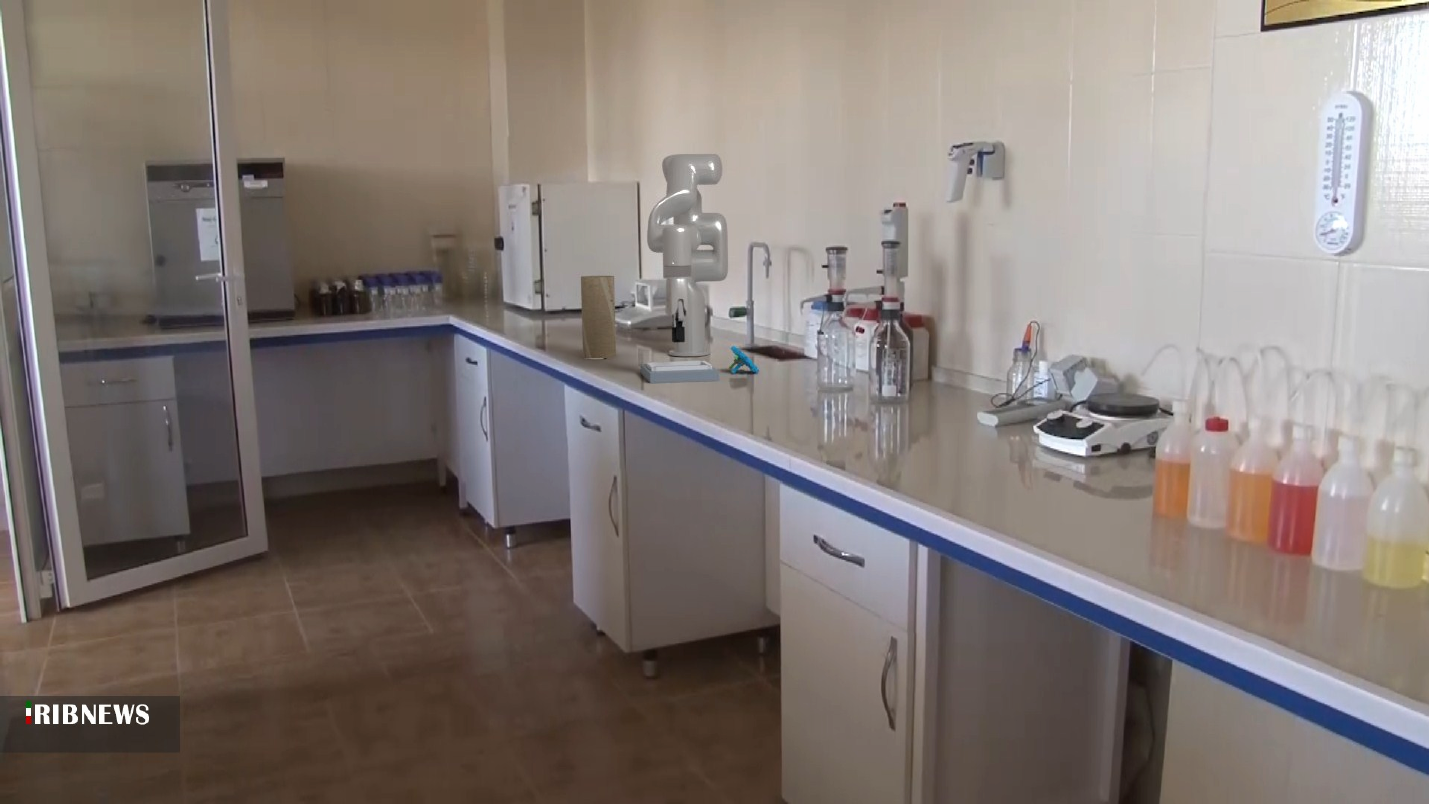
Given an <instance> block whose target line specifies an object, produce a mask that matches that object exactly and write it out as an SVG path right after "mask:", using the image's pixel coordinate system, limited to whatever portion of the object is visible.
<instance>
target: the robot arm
mask: <svg viewBox="0 0 1429 804" xmlns="http://www.w3.org/2000/svg"><path fill="white" fill-rule="evenodd" d="M661 166H662V172H663V176H664V178H665V181H666V194H665V196H664V197H663V198H662V199H660V201H658V202H657V203H656V204H655V205H654V206H653V208H652V210H651V211H650V214H649V216H648V221H647V231H646V233H647V234H646V243H647V246H648V248H649V250H650V251H651V252H653V253H656V254H657V253H659V254H661V253H662V273H663V274H662V277H663V279H664V280H665V279H666V280H665V281H666V283H665V308H664V309H665V310H664V311H665V314H666V315H667V316H669V317H671V341H672V343H673V349H670V350H669V351H668V355H669V356H673V357H702V356H703V357H704V356H709V355H710V354H711V350H710V349H706V303H705V302H706V300H705V299H706V298H705V294H704V292H703V291H702V289H700V287H699V286H698V285H697V283H698V282H722V281H725V280H726V279H727V276H728V272H729V250H728V249H729V248H728V247H729V243H728V241H729V239H728V235H729V234H728V224H727V220H726V218H725V216H724V215H723V214H722V213H719V212H703V201H702V199H703V198H702V194H701V193H700V191H699V189H698V186H700V185H701V186H705V185H706V186H708V185H709V186H710V185H713V186H715V185H717V184H719V182H720V181H721V179H722V175H723V163H722V159H721V157H720V156H719V155H718V154H716V153H681V154H680V153H679V154H670V155H667V156H666V157H664V159H663V160H662V164H661ZM671 218H673V224H663V223H664V222H666V221H667V220H669V219H671ZM700 246H711V247H712V249H699V247H700Z"/></svg>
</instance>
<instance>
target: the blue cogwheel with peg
mask: <svg viewBox="0 0 1429 804" xmlns="http://www.w3.org/2000/svg"><path fill="white" fill-rule="evenodd" d="M730 350H731V351H732V353H733V354H734V355H735V356H734V357H733V358H734V359H733V363H731V365H730V366H729V367H728V369H729V370H731V373H732V374H733V375H734V374H735V373H736V372H737V371H738V370H739V369H740V368H741V367H743V366H745V367H747V368H749V370H751V371H752V372H753V373H755V374H758V373H759V372H760V370H759V367H758V366H757V365H756V364H754V363H753V361H752V359H751V358H749V356H747V355H746V354H745V353H744V352H742V351H741V349H739V348H738V347H736V346H734V345H732V346H731V348H730Z"/></svg>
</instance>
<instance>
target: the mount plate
mask: <svg viewBox="0 0 1429 804" xmlns="http://www.w3.org/2000/svg"><path fill="white" fill-rule="evenodd" d="M640 374H641V375H642V376H643V377H644V378H645V380H647V382H648V383H650V384H660V383H661V384H663V383H664V384H665V383H689V382H690V383H691V382H692V383H693V382H697V383H698V382H719V381H720V370H718V369H716V368H715V367H714V366H713V365H712V364H710V363H709V362H708V361H706V360H687V361H685V360H684V361H682V360H681V361H654V362H653V361H652V362H650V361H649V362H645V364H644V363H643V364H640Z"/></svg>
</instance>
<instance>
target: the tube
mask: <svg viewBox="0 0 1429 804" xmlns="http://www.w3.org/2000/svg"><path fill="white" fill-rule="evenodd" d="M615 294H616V293H615V275H584V276H583V275H582V276H580V296H581V298H580V299H581V328H582V332H581V333H582V358H583V357H584V358H610V359H614V358H613V357H615V356H616V357H617V349H616V348H617V346H616V345H617V344H616V343H617V341H616V340H617V337H616V304H615V303H616V302H615V301H616V300H615V299H616V298H615V296H616V295H615ZM616 357H615V358H616ZM584 358H583V359H584Z"/></svg>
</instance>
